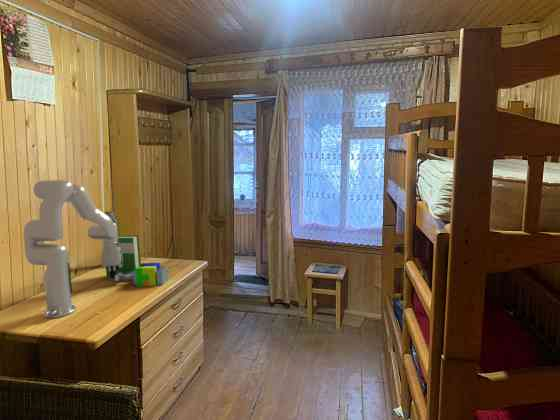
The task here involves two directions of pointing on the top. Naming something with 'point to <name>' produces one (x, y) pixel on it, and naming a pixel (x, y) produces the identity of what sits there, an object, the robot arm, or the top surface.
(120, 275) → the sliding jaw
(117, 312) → the top surface
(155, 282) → the puzzle toy
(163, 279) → the vise body
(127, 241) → the hardback book
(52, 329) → the top surface
